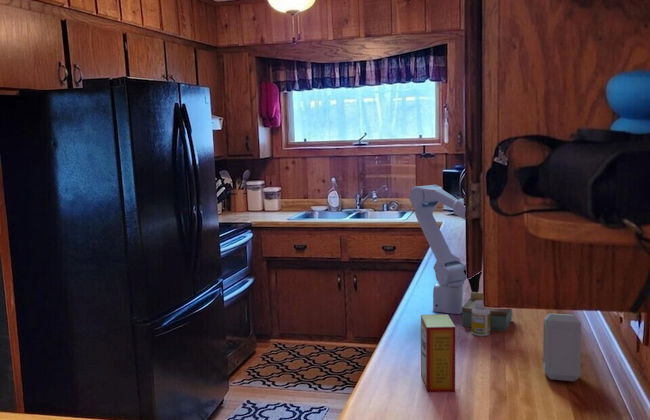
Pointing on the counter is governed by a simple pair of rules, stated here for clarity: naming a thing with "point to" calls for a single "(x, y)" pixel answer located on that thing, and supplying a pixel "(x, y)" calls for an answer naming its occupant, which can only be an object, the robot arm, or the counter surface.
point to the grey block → (562, 347)
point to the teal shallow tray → (495, 320)
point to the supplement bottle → (480, 319)
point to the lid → (479, 296)
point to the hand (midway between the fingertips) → (482, 289)
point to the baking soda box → (438, 353)
